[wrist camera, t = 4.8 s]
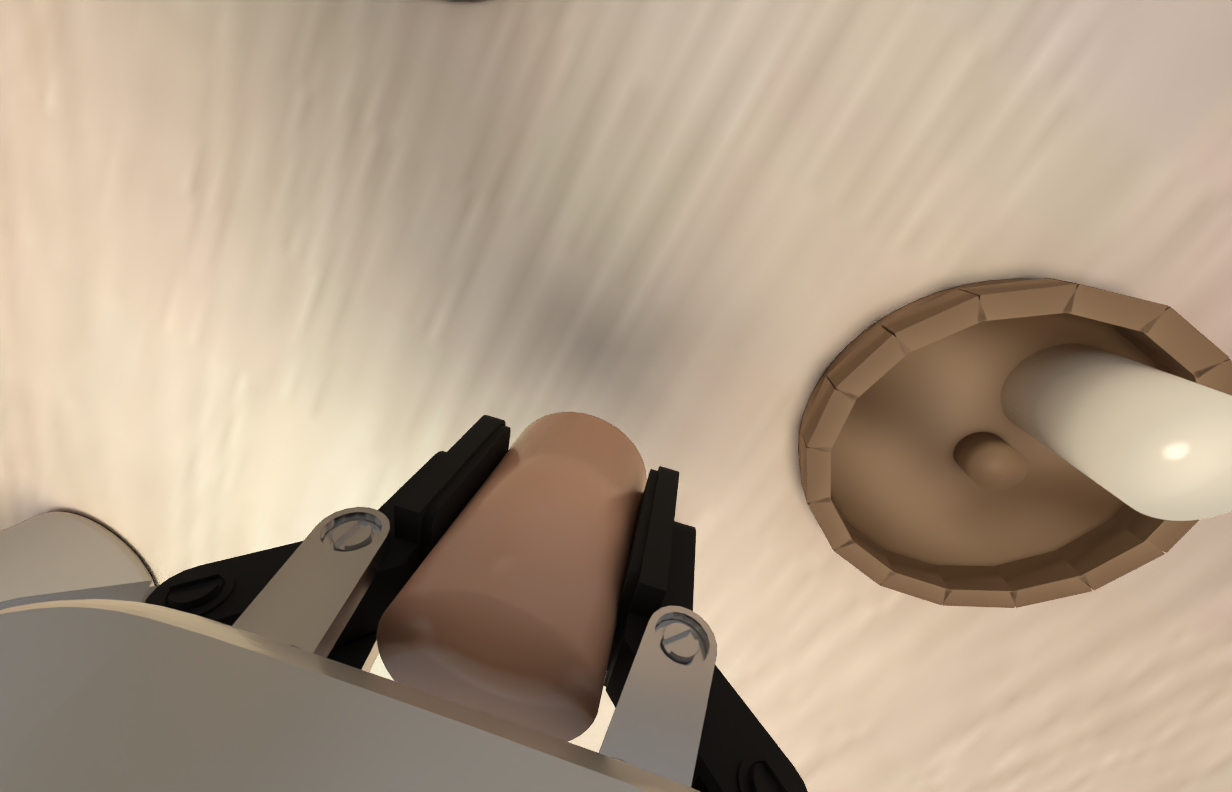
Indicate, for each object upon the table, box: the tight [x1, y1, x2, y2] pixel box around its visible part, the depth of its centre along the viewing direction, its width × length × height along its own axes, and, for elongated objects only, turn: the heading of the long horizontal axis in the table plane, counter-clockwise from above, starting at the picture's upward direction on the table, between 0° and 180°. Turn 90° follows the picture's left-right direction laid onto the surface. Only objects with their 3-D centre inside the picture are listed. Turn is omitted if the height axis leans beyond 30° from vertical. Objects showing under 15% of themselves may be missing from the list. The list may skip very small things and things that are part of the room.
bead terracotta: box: [377, 412, 647, 742], centre depth 10 cm, size 4×4×6 cm
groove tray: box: [798, 278, 1232, 608], centre depth 20 cm, size 15×15×2 cm
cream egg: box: [1001, 343, 1232, 521], centre depth 16 cm, size 4×4×6 cm
